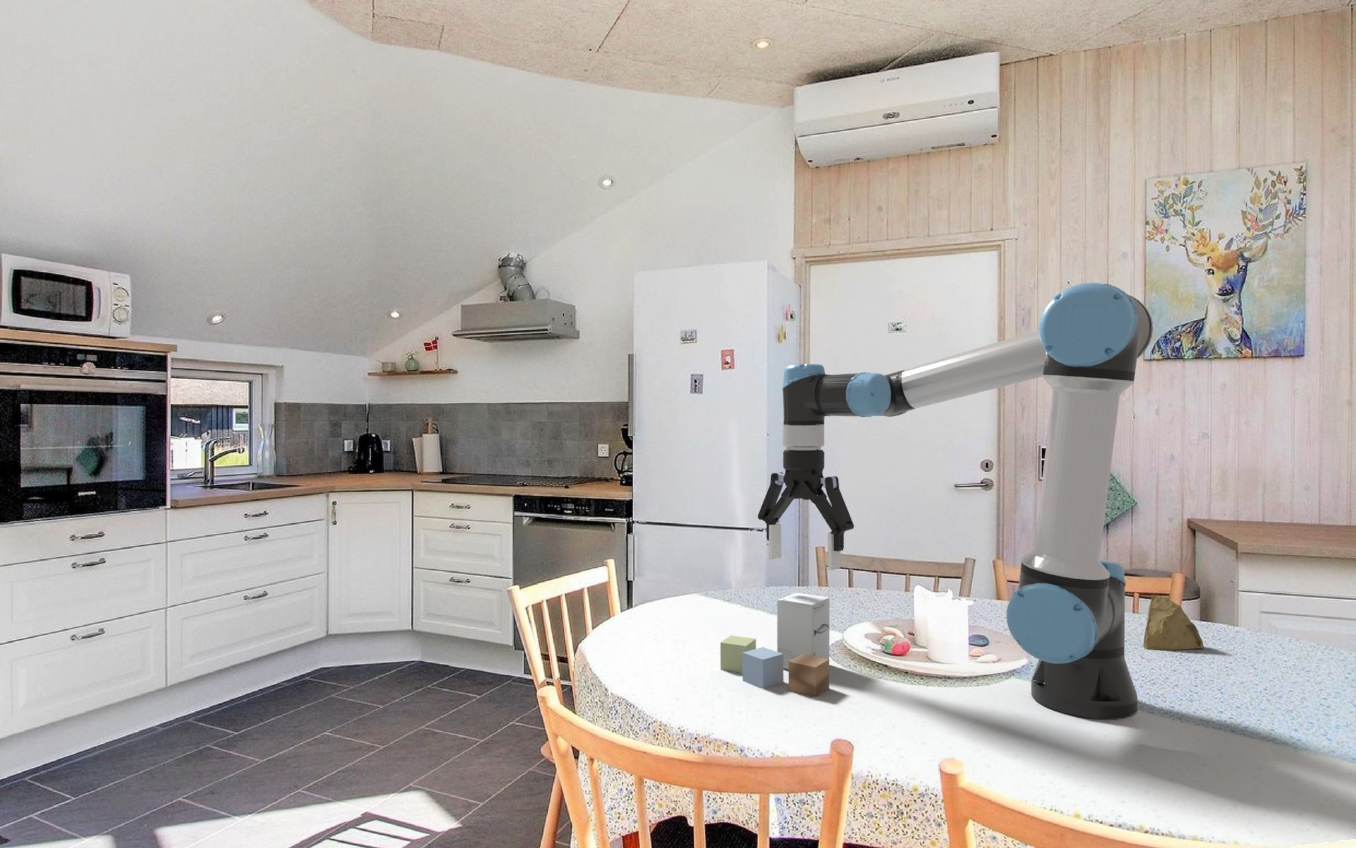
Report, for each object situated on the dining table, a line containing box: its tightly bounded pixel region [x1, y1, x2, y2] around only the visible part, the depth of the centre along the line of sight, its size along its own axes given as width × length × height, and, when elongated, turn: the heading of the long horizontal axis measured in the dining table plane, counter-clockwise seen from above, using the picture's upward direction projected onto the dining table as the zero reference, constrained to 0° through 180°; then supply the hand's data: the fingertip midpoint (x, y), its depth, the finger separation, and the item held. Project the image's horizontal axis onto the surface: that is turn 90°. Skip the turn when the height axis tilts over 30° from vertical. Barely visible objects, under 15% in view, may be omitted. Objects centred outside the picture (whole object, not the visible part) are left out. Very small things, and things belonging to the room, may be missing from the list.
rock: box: [1143, 594, 1205, 651], centre depth 151 cm, size 11×9×10 cm
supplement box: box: [776, 592, 830, 671], centre depth 142 cm, size 7×7×13 cm
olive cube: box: [719, 635, 757, 674], centre depth 142 cm, size 5×5×5 cm
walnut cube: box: [788, 654, 830, 698], centre depth 130 cm, size 5×5×5 cm
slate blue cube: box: [742, 646, 784, 689], centre depth 134 cm, size 5×5×5 cm
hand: (803, 563), depth 142 cm, fingers open, 13 cm apart
